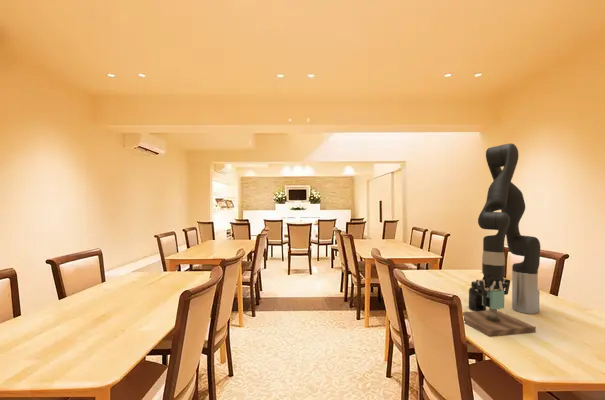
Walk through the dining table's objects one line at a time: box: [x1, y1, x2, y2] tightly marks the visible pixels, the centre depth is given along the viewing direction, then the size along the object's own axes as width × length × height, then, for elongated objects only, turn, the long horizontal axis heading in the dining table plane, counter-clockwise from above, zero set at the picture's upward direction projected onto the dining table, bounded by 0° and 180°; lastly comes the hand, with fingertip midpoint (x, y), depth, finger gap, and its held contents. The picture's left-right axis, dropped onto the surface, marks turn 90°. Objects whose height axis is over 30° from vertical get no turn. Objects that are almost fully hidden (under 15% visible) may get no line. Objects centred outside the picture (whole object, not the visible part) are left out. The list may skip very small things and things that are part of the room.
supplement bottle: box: [468, 280, 487, 312], centre depth 137 cm, size 7×7×12 cm
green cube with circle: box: [482, 288, 505, 310], centre depth 120 cm, size 5×5×7 cm
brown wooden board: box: [463, 307, 537, 337], centre depth 120 cm, size 20×18×9 cm
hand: (493, 305), depth 120 cm, fingers closed on green cube with circle, 5 cm apart
